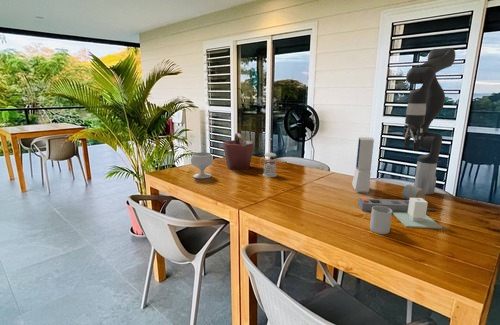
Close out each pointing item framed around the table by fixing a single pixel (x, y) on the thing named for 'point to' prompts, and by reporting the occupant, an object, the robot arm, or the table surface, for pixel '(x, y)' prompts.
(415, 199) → the block
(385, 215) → the cup
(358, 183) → the electronic device
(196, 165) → the chalice
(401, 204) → the power strip
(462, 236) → the table surface
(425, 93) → the robot arm
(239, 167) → the bucket
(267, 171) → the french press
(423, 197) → the ceramic mug
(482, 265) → the table surface
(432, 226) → the rubber mat
